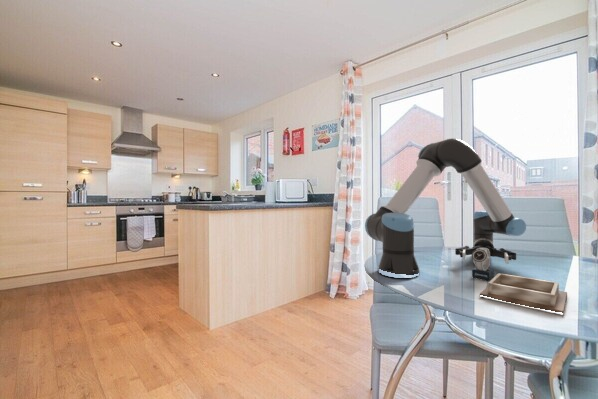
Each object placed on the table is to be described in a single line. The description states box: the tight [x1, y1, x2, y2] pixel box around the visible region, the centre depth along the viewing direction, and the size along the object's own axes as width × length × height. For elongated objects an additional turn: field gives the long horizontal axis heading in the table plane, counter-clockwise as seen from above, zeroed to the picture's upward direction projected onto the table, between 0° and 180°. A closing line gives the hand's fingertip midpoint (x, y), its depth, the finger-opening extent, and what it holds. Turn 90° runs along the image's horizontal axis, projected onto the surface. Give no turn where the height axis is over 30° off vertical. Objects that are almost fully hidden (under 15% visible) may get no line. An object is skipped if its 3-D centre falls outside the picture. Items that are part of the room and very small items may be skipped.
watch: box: [471, 248, 495, 282], centre depth 100 cm, size 6×8×11 cm
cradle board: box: [479, 273, 568, 313], centre depth 82 cm, size 18×18×4 cm
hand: (484, 257), depth 104 cm, fingers open, 13 cm apart
